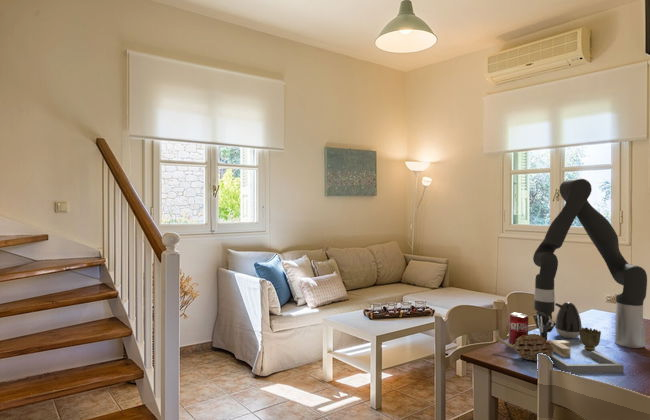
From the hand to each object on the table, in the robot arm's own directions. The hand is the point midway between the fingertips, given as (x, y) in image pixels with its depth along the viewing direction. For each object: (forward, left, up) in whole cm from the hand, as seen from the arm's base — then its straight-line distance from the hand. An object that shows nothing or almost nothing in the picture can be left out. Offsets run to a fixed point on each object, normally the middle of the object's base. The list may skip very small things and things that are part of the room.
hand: (543, 340), depth 178 cm
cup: (-14, +8, -1) cm, 16 cm away
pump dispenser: (-16, -9, -1) cm, 18 cm away
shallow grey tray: (0, +23, -1) cm, 23 cm away
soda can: (+11, 0, -1) cm, 11 cm away
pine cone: (+18, +16, -1) cm, 24 cm away
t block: (0, +10, -1) cm, 10 cm away
